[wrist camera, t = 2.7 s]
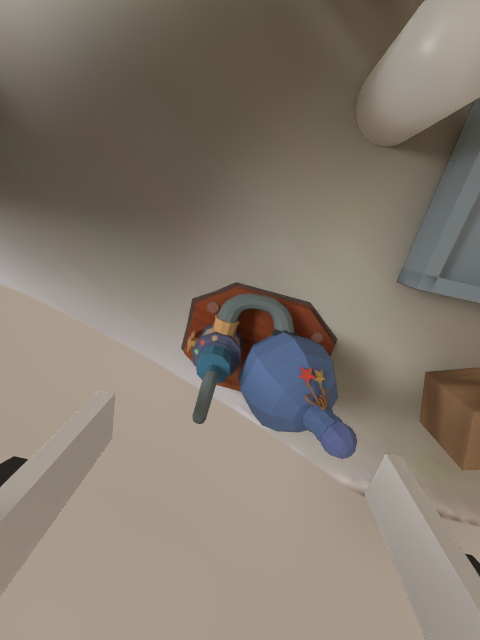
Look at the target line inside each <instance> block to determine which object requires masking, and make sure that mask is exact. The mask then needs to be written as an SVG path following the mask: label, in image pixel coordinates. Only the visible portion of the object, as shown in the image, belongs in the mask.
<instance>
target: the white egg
mask: <svg viewBox="0 0 480 640" xmlns="http://www.w3.org/2000/svg"><path fill="white" fill-rule="evenodd" d="M479 97H480V0H424V1H423V3H422V4H421V5H420V7H419V8H418V9H417V11H416V12H415V13H414V15H413V16H412V17H411V19H410V20H409V22H408V23H407V24H406V26H405V27H404V28H403V30H402V31H401V32H400V34H399V35H398V36H397V38H396V39H395V40H394V42H393V43H392V44H391V46H390V47H389V48H388V50H387V51H386V52H385V54H384V55H383V57H382V58H381V59H380V61H379V62H378V63H377V65H376V66H375V67H374V69H373V70H372V71H371V73H370V74H369V75H368V77H367V78H366V80H365V81H364V83H363V85H362V87H361V89H360V92H359V94H358V98H357V103H356V119H357V123H358V126H359V129H360V131H361V133H362V134H363V135H364V137H365V138H366V139H367V140H369V141H370V142H371V143H373V144H375V145H378V146H394V145H398V144H400V143H403V142H404V141H406V140H408V139H409V138H411V137H413V136H415V135H416V134H418V133H420V132H421V131H423V130H425V129H427V128H428V127H430V126H432V125H433V124H435V123H437V122H438V121H440V120H442V119H444V118H445V117H447V116H449V115H450V114H452V113H454V112H456V111H457V110H459V109H461V108H462V107H464V106H466V105H467V104H469V103H471V102H473V101H474V100H476V99H478V98H479Z"/></svg>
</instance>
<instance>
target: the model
mask: <svg viewBox="0 0 480 640" xmlns="http://www.w3.org/2000/svg"><path fill="white" fill-rule="evenodd" d="M336 340H337V338H336V337H335V336H334V334H333V333H332V332H331V330H330V329H329V328H328V326H327V325H326V324H325V322H324V321H323V320H322V318H321V317H320V316H319V314H318V313H317V311H316V310H315V309H314V307H313V306H312V304H311V303H310V302H306V301H302V300H299V299H295V298H291V297H288V296H284V295H281V294H277V293H273V292H270V291H266V290H262V289H258V288H255V287H251V286H247V285H244V284H240V283H234V284H231V285H229V286H226V287H224V288H222V289H219V290H217V291H215V292H212V293H209V294H206V295H203V296H199V297H196V298H193V299H192V304H191V309H190V314H189V319H188V324H187V328H186V332H185V336H184V339H183V343H182V347H181V349H182V350H183V351H184V353H185V354H186V356H187V357H188V358H189V359H190V360H191V361H192V362H193V363H194V365H195V366H196V368H197V375H198V376H199V377H200V378H201V379H202V384H201V387H200V391H199V395H198V398H197V402H196V406H195V409H194V413H193V421H194V422H195V423H198V424H202V423H204V421H205V420H206V417H207V413H208V410H209V407H210V403H211V400H212V396H213V393H214V390H215V386H216V385H219V386H223V387H226V388H230V389H234V390H237V391H241V392H242V394H243V396H244V398H245V399H246V401H247V403H248V405H249V407H250V409H251V411H252V413H253V414H254V415H255V417H256V418H257V419H258V421H259V422H260V423H261V424H262V425H263V426H266V427H268V428H271V429H273V430H275V431H283V432H302V431H306V430H309V431H310V432H313V433H314V434H315V436H316V438H317V439H318V440H319V441H320V442H321V445H322V446H323V448H324V450H325V451H326V452H327V453H329V454H330V455H332V456H335V457H338V458H341V459H343V458H348V457H350V456H351V455H352V454H353V453H354V452H355V449H356V444H357V439H356V434H355V433H354V431H353V430H352V429H351V428H350V427H349V426H347V425H346V424H344V423H343V422H342V421H341V419H340V418H339V417H337V416H336V415H335V414H334V413H333V412H332V409H331V408H332V407H333V405H334V403H335V402H336V400H337V398H338V396H337V385H336V379H335V373H334V368H333V362H332V359H331V358H330V355H331V353H332V350H333V348H334V345H335V343H336Z"/></svg>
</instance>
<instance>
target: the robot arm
mask: <svg viewBox="0 0 480 640" xmlns="http://www.w3.org/2000/svg"><path fill="white" fill-rule="evenodd" d="M114 401H115V393H111V392H107V391H102V390H98V391H97V392H96V393H95V394H94V395H93V396H92V397H91V398H90V399H89V400H88V401H87V402H86V403H85V404H84V405H83V406H82V407H81V408H80V409H79V410H78V411H77V412H76V413H75V414H74V415H73V416H72V417H71V418H70V419H69V420H68V421H67V422H66V423H65V424H64V425H63V426H62V427H61V428H60V429H59V430H58V431H57V432H56V433H55V434H54V435H53V436H52V437H51V438H50V439H49V440H48V441H47V442H46V443H45V444H44V445H43V446H42V447H41V448H39V450H37V452H35V453H34V454H33V456H31V458H29V459H24V458H19V457H12V458H10V459H8V460H6V461H5V462H3V463H1V464H0V596H1V595H2V594H3V592H4V591H5V589H6V588H7V587H8V585H9V584H10V582H11V581H12V579H13V578H14V577H15V575H16V574H17V572H18V571H19V570H20V568H21V567H22V565H23V564H24V563H25V561H26V560H27V558H28V557H29V555H30V554H31V552H32V551H33V549H34V548H35V547H36V545H37V544H38V542H39V541H40V540H41V538H42V537H43V536H44V534H45V533H46V531H47V530H48V528H49V527H50V526H51V524H52V523H53V521H54V520H55V519H56V517H57V516H58V514H59V512H61V510H62V509H63V507H64V506H65V504H66V503H67V501H68V500H69V499H70V497H71V496H72V495H73V493H74V492H75V490H76V489H77V487H78V486H79V485H80V483H81V482H82V480H83V479H84V478H85V476H86V475H87V473H88V472H89V470H90V469H91V468H92V466H93V465H94V463H95V462H96V460H97V459H98V458H99V456H100V455H101V453H102V452H103V451H104V449H105V448H106V446H107V445H108V444H109V442H110V441H111V439H112V430H113V415H114ZM365 497H366V499H367V501H368V504H369V506H370V508H371V511H372V513H373V516H374V518H375V521H376V523H377V525H378V528H379V530H380V533H381V535H382V537H383V540H384V542H385V545H386V547H387V549H388V552H389V554H390V557H391V559H392V561H393V564H394V566H395V569H396V571H397V573H398V576H399V578H400V581H401V583H402V585H403V588H404V590H405V593H406V595H407V597H408V600H409V602H410V604H411V607H412V609H413V612H414V614H415V617H416V619H417V621H418V624H419V626H420V629H421V631H422V633H423V636H424V638H425V640H480V563H479V562H478V561H477V560H476V559H475V558H474V557H473V556H472V555H468V554H465V553H464V552H463V550H462V549H461V547H460V546H459V544H458V543H457V541H456V540H455V538H454V537H453V535H452V534H451V532H450V531H449V529H448V527H447V526H446V524H445V523H444V521H443V520H442V518H441V517H440V515H439V514H438V512H437V510H436V509H435V507H434V506H433V504H432V503H431V501H430V500H429V498H428V497H427V495H426V494H425V492H424V491H423V489H422V487H421V486H420V484H419V483H418V481H417V480H416V478H415V477H414V475H413V474H412V472H411V471H410V469H409V468H408V466H407V465H406V463H405V461H404V460H403V458H402V457H400V456H396V455H391V454H387V453H386V454H385V456H384V458H383V460H382V462H381V464H380V466H379V467H378V469H377V471H376V473H375V475H374V477H373V479H372V481H371V483H370V485H369V487H368V489H367V490H366V492H365Z"/></svg>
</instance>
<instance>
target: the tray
mask: <svg viewBox="0 0 480 640" xmlns="http://www.w3.org/2000/svg"><path fill="white" fill-rule="evenodd" d="M397 282H399V283H402V284H404V285H407V286H410V287H413V288H415V289H419V290H424V291H428V292H432V293H437V294H441V295H445V296H450V297H454V298H458V299H463V300H467V301H472V302H476V303H480V97H479V98H478V99H476V100H475V101H474V103H473V106H472V108H471V110H470V113H469V115H468V117H467V120H466V122H465V124H464V126H463V129H462V131H461V133H460V136H459V138H458V140H457V143H456V145H455V147H454V150H453V152H452V154H451V157H450V159H449V161H448V164H447V166H446V168H445V171H444V173H443V175H442V178H441V180H440V182H439V185H438V187H437V189H436V192H435V194H434V196H433V199H432V201H431V203H430V206H429V208H428V210H427V213H426V215H425V217H424V220H423V222H422V224H421V227H420V229H419V231H418V233H417V236H416V238H415V240H414V243H413V245H412V247H411V250H410V252H409V254H408V257H407V259H406V261H405V264H404V266H403V268H402V271H401V273H400V275H399V278H398V280H397Z"/></svg>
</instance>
